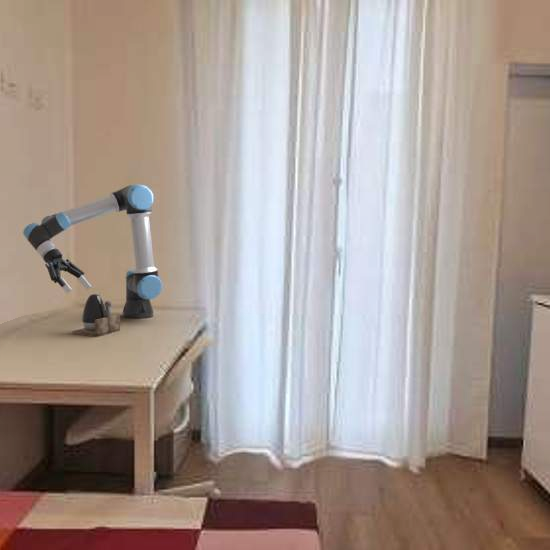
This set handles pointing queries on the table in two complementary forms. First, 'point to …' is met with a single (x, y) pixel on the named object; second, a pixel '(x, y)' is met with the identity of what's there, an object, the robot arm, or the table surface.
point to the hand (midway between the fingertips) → (79, 289)
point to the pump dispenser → (93, 311)
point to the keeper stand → (103, 324)
